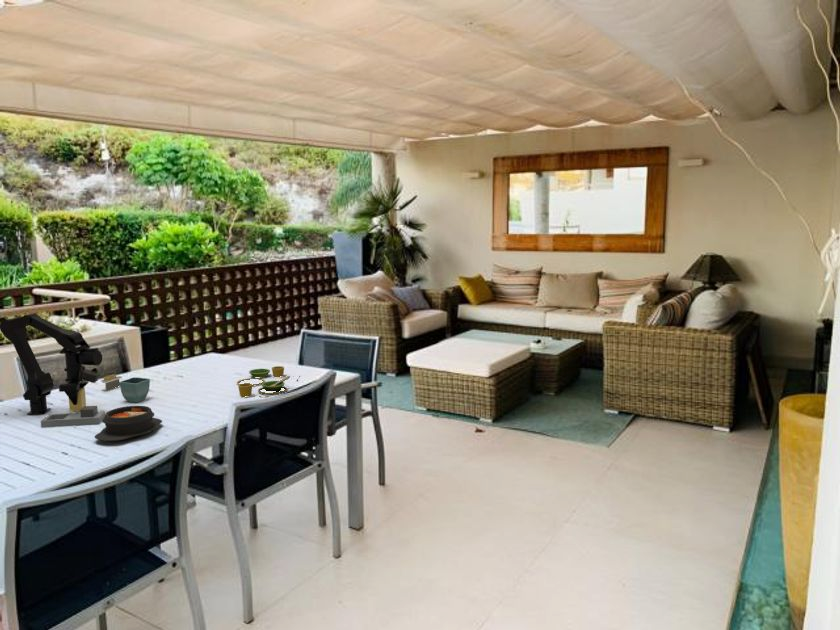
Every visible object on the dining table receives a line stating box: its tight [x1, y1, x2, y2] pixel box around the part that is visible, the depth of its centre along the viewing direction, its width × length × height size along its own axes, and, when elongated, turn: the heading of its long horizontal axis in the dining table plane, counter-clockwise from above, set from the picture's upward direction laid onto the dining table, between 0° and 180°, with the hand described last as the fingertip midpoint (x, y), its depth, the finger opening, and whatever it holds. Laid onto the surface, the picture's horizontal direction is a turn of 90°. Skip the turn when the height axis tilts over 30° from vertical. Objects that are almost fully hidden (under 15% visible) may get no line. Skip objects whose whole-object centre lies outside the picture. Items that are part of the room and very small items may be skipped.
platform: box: [100, 373, 123, 392], centre depth 282 cm, size 12×18×7 cm, turn 162°
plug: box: [68, 387, 87, 412], centre depth 245 cm, size 5×5×10 cm
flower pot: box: [119, 376, 151, 403], centre depth 263 cm, size 9×9×9 cm
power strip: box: [40, 405, 106, 428], centre depth 235 cm, size 8×20×6 cm, turn 101°
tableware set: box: [236, 365, 291, 398], centre depth 288 cm, size 41×28×6 cm
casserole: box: [94, 405, 163, 442], centre depth 223 cm, size 25×19×8 cm
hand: (77, 403), depth 245 cm, fingers closed on plug, 5 cm apart
